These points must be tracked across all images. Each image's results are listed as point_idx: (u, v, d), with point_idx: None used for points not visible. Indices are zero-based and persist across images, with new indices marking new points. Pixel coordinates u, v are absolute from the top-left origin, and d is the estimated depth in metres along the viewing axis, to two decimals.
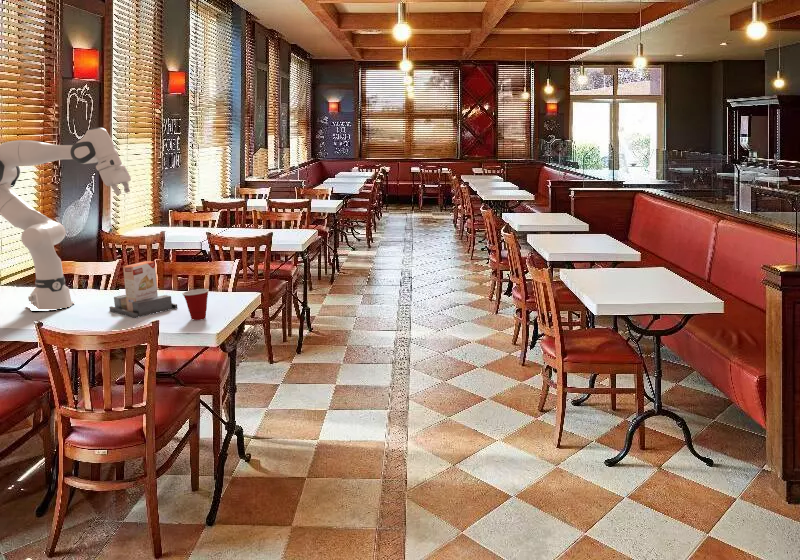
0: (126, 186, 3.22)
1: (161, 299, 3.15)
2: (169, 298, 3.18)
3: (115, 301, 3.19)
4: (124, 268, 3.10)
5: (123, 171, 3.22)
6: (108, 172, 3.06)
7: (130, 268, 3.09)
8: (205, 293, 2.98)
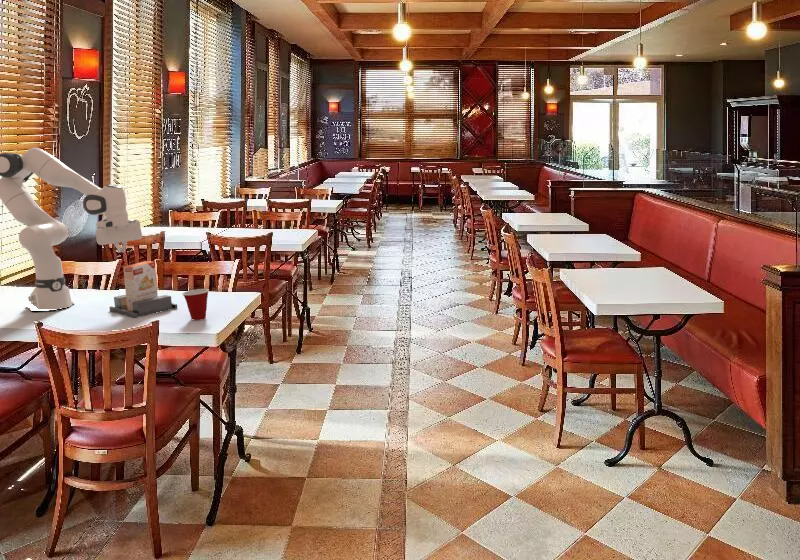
0: (123, 245, 3.24)
1: (161, 299, 3.15)
2: (169, 298, 3.18)
3: (115, 301, 3.19)
4: (124, 268, 3.10)
5: (132, 230, 3.25)
6: (100, 233, 3.14)
7: (130, 268, 3.09)
8: (205, 293, 2.98)
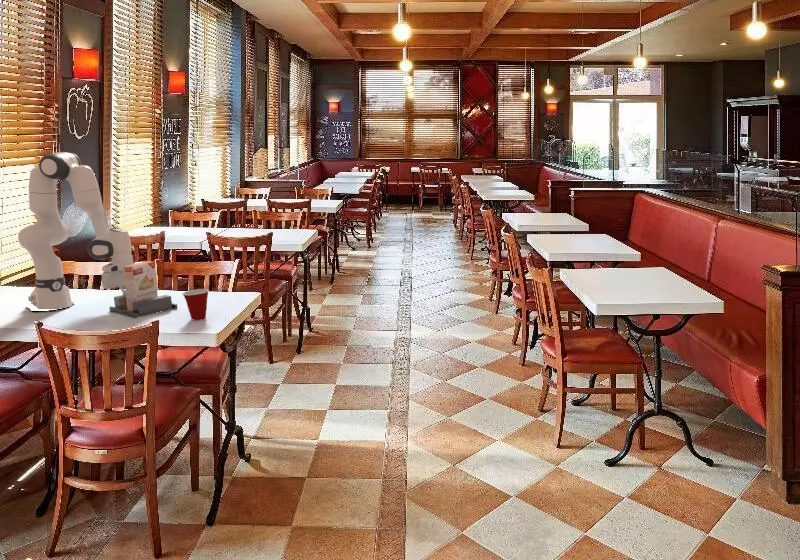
0: None
1: (161, 299, 3.15)
2: (169, 298, 3.18)
3: (115, 301, 3.19)
4: (124, 268, 3.10)
5: None
6: (105, 277, 3.17)
7: (130, 268, 3.09)
8: (205, 293, 2.98)
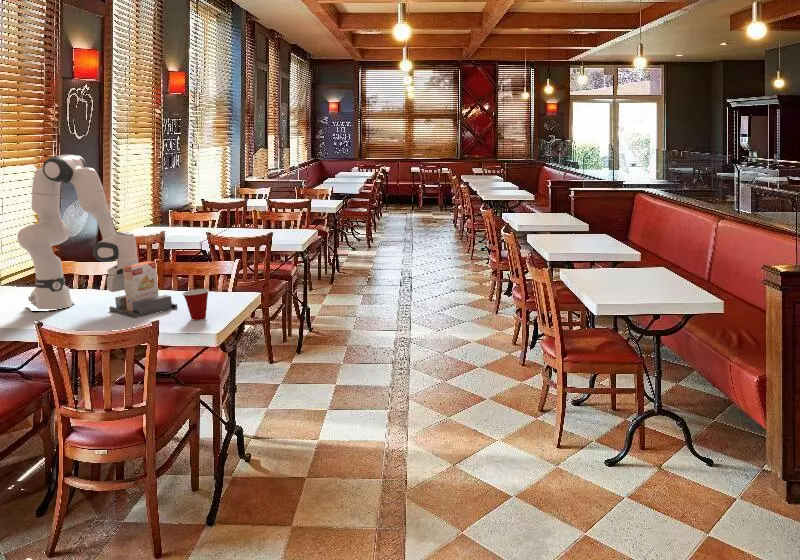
0: None
1: (161, 299, 3.15)
2: (169, 298, 3.18)
3: (116, 301, 3.18)
4: (124, 268, 3.10)
5: None
6: (111, 280, 3.15)
7: (129, 268, 3.08)
8: (205, 293, 2.98)
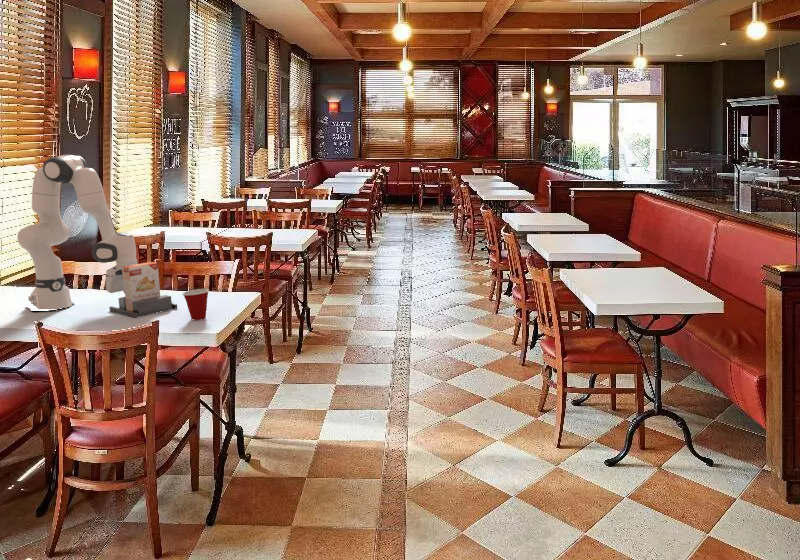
0: None
1: (161, 299, 3.15)
2: (169, 298, 3.18)
3: (120, 302, 3.16)
4: (123, 268, 3.10)
5: None
6: (109, 281, 3.15)
7: (127, 269, 3.08)
8: (205, 293, 2.98)
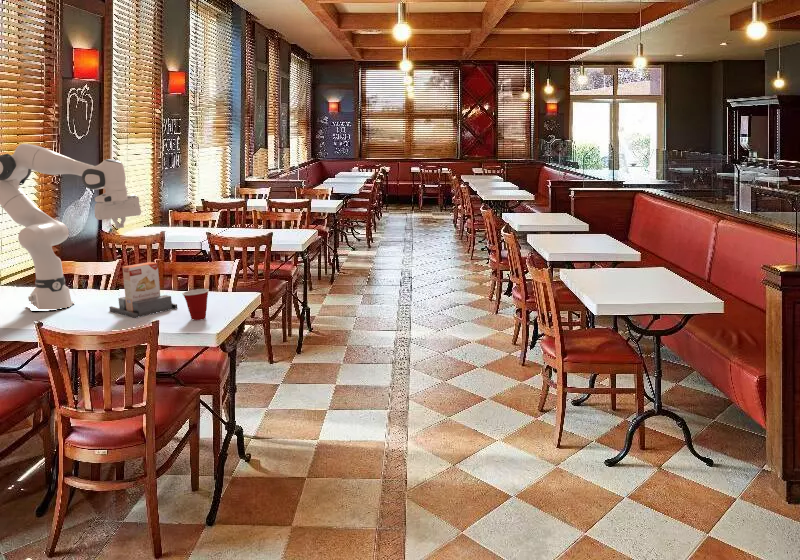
0: (122, 221, 3.21)
1: (161, 299, 3.15)
2: (169, 298, 3.18)
3: (120, 302, 3.16)
4: (123, 268, 3.10)
5: (131, 206, 3.22)
6: (98, 208, 3.11)
7: (127, 269, 3.08)
8: (205, 293, 2.98)
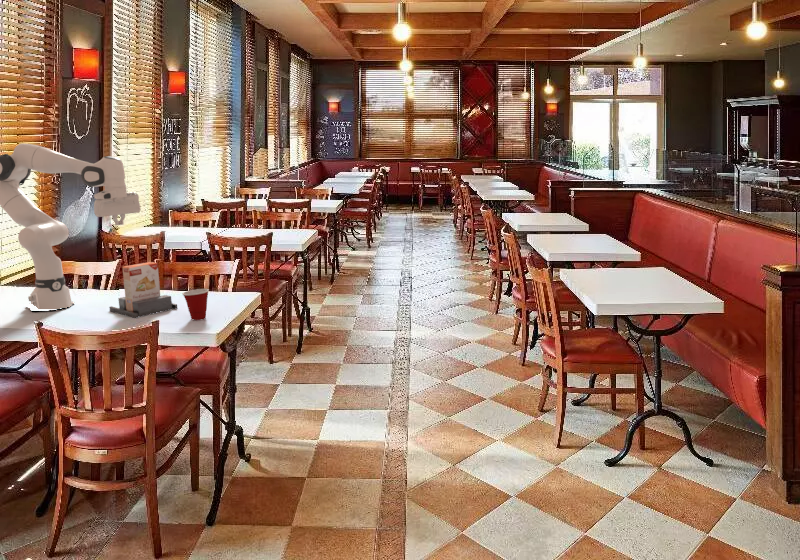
0: (121, 218, 3.21)
1: (161, 299, 3.15)
2: (169, 298, 3.18)
3: (120, 302, 3.16)
4: (123, 268, 3.10)
5: (131, 203, 3.22)
6: (98, 205, 3.10)
7: (127, 269, 3.08)
8: (205, 293, 2.98)
